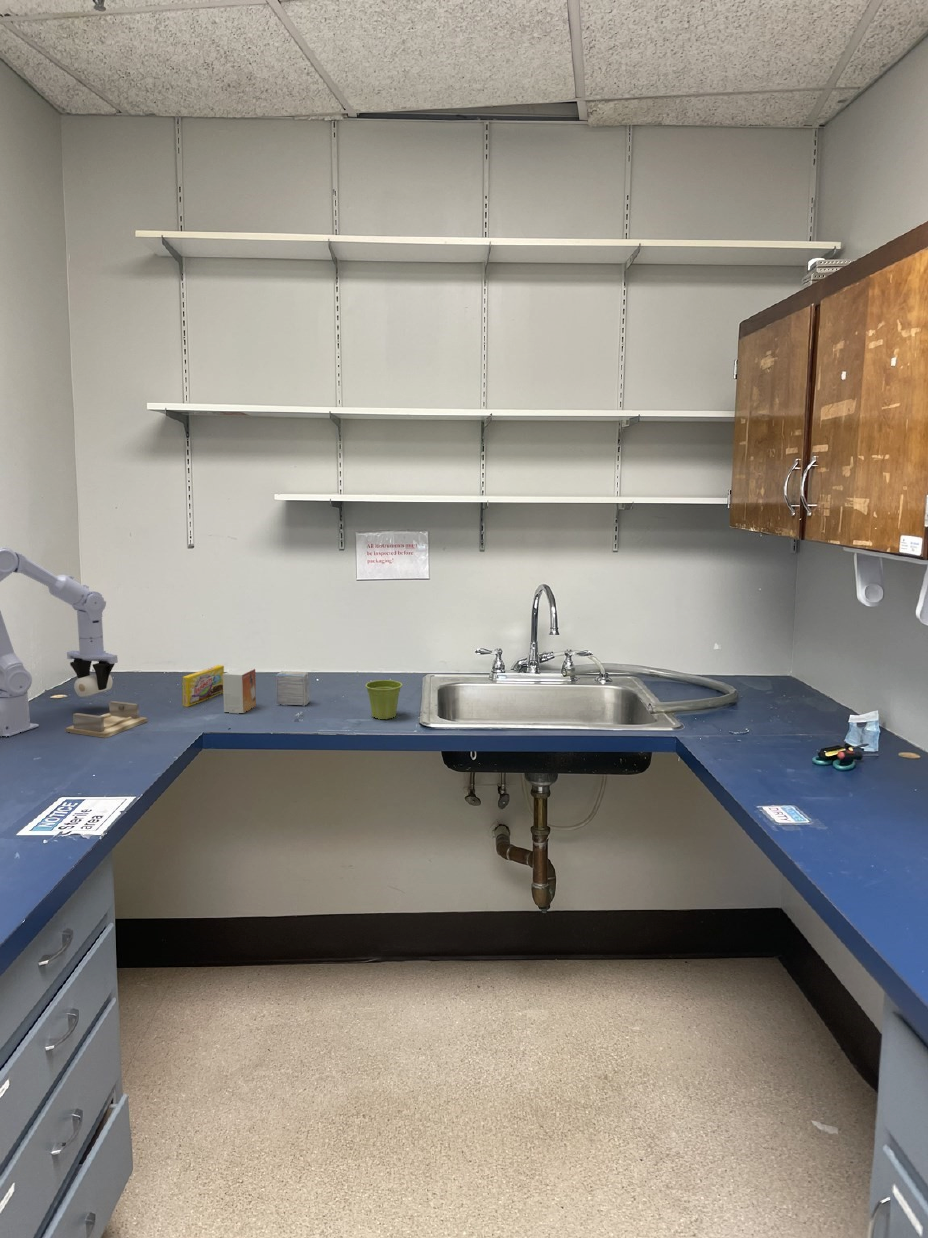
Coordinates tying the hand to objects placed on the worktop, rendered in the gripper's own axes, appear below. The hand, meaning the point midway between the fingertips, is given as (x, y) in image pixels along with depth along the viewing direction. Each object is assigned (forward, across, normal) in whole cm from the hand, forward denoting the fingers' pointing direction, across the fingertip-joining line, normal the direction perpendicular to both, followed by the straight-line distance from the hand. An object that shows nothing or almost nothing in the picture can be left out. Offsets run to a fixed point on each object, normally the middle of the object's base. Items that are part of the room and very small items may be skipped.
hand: (93, 688), depth 212 cm
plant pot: (+6, -72, -23) cm, 76 cm away
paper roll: (+1, 0, 0) cm, 1 cm away
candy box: (+6, -19, -20) cm, 28 cm away
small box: (+6, -34, -15) cm, 38 cm away
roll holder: (+6, -13, +10) cm, 17 cm away
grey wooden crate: (+6, -44, -25) cm, 51 cm away
